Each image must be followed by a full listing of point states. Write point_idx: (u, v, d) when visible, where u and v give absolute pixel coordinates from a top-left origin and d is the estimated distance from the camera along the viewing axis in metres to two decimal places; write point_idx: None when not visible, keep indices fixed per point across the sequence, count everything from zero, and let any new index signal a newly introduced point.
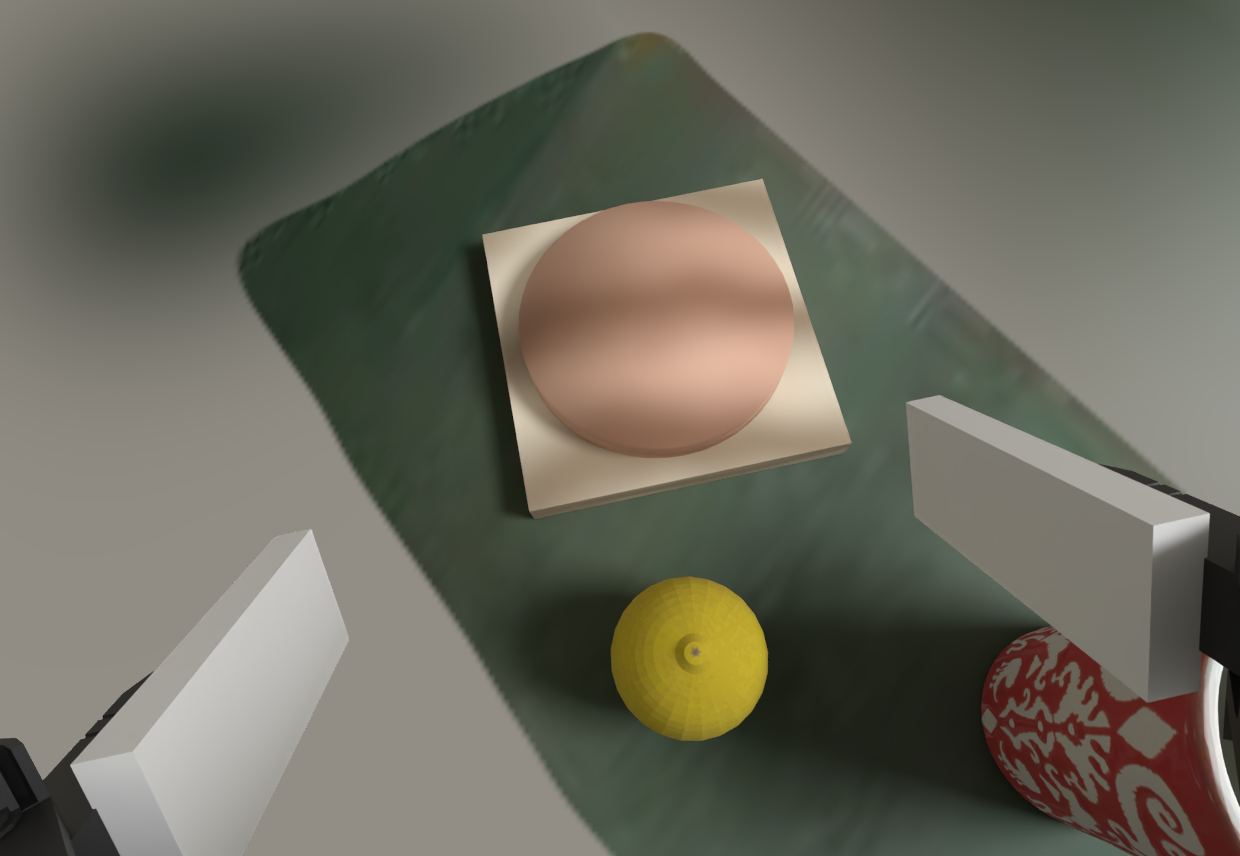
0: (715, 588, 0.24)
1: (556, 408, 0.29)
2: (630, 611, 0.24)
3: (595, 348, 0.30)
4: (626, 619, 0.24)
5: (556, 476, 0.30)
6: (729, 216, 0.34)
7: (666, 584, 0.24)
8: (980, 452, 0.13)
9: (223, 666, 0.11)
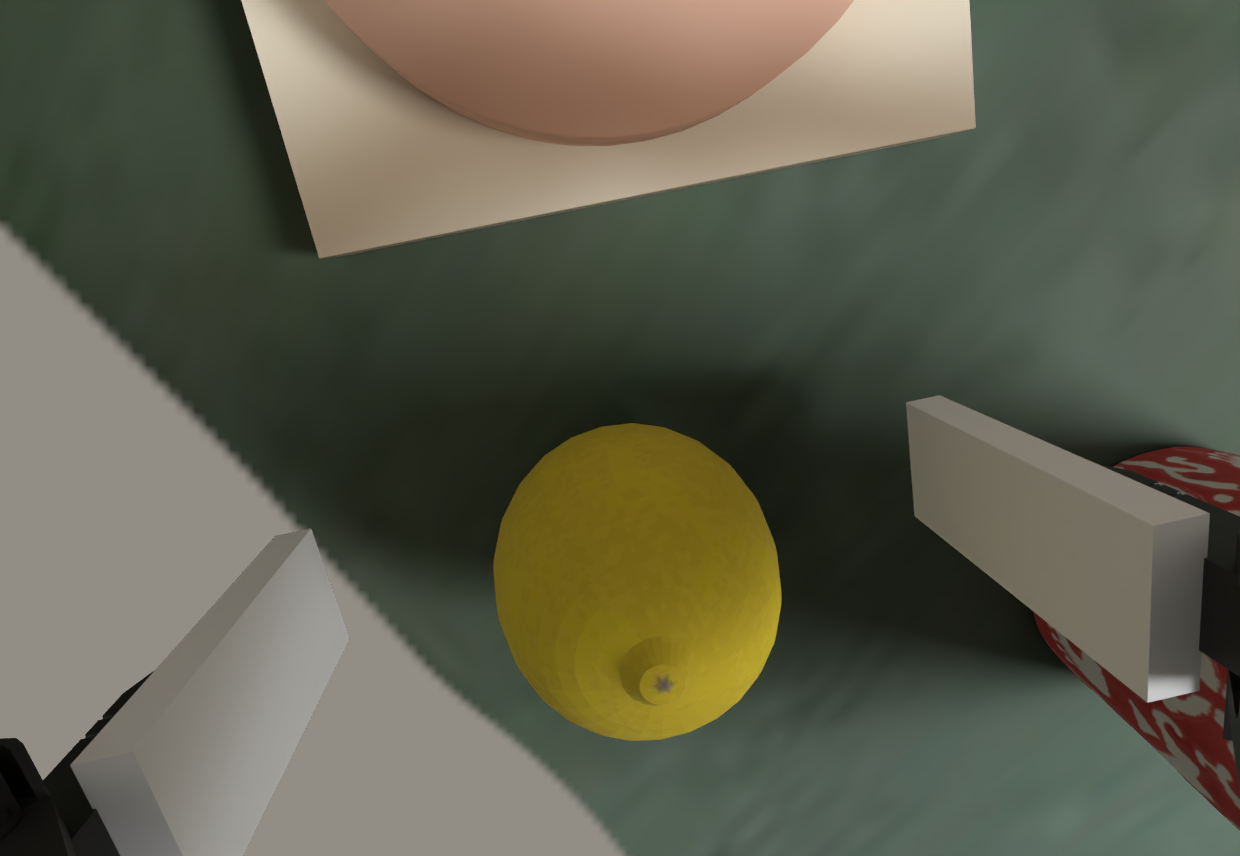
0: (703, 504, 0.12)
1: (342, 17, 0.12)
2: (528, 539, 0.12)
3: None
4: (520, 554, 0.12)
5: (369, 181, 0.14)
6: None
7: (602, 488, 0.12)
8: (980, 452, 0.13)
9: (223, 666, 0.11)
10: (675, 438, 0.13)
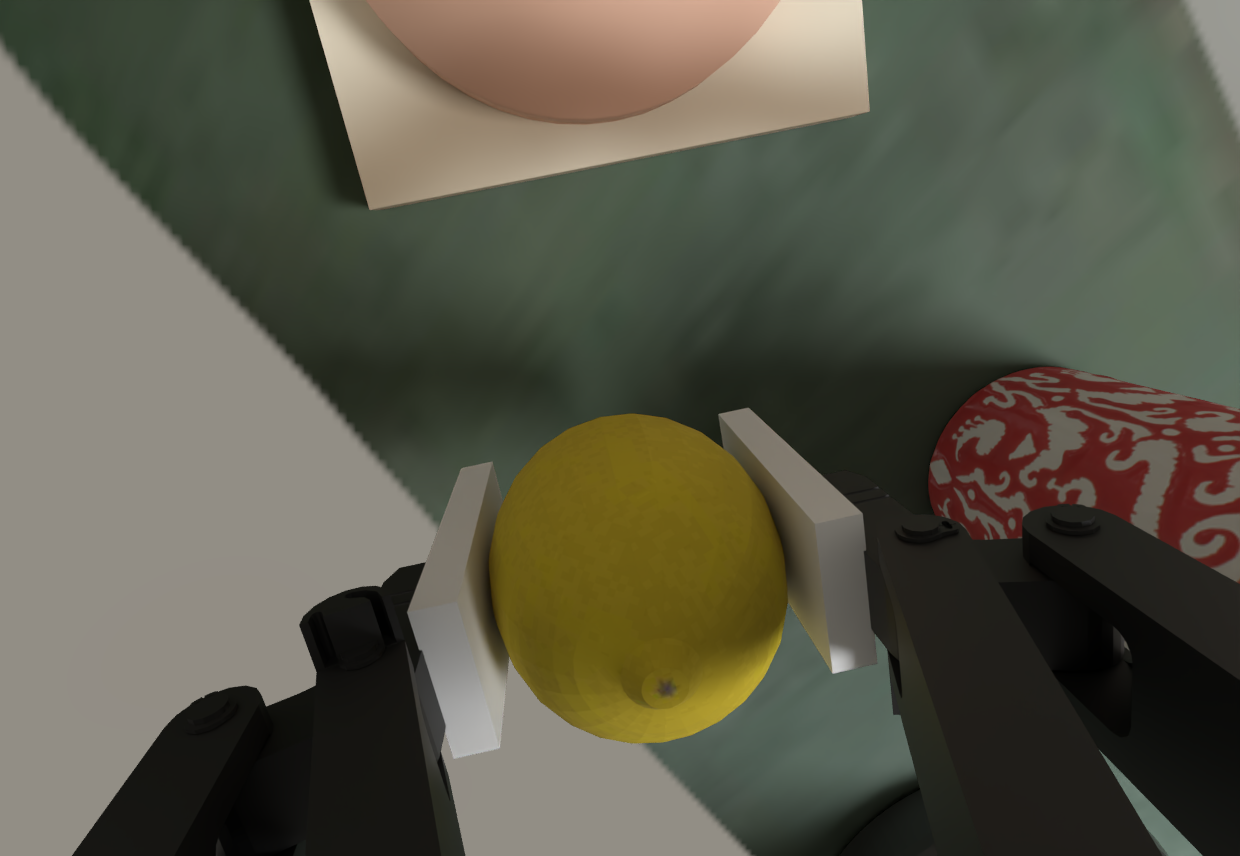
0: (707, 499, 0.11)
1: (392, 30, 0.17)
2: (524, 535, 0.11)
3: None
4: (516, 550, 0.11)
5: (407, 150, 0.19)
6: None
7: (602, 482, 0.11)
8: (750, 460, 0.14)
9: (477, 556, 0.13)
10: (677, 429, 0.13)
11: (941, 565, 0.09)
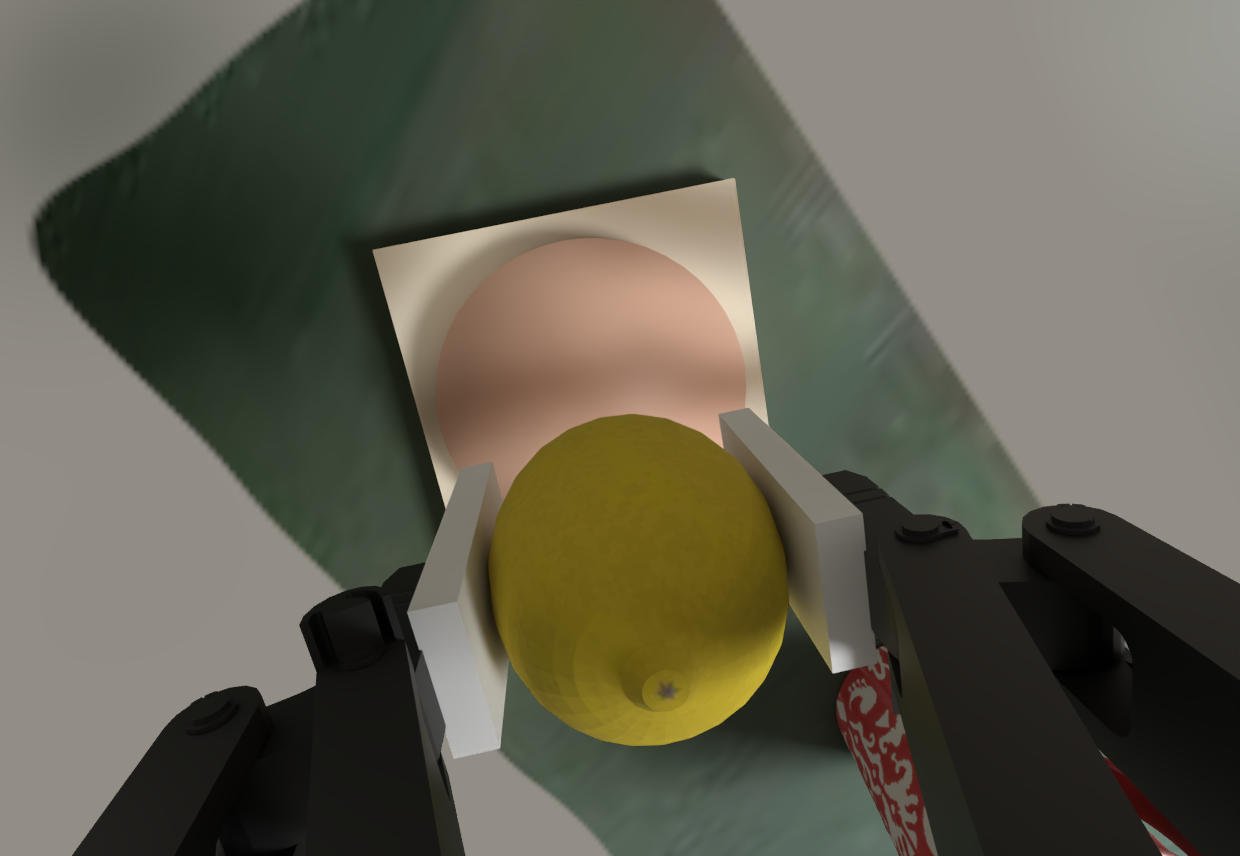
0: (708, 500, 0.11)
1: None
2: (524, 536, 0.11)
3: (526, 436, 0.27)
4: (516, 552, 0.11)
5: None
6: (687, 234, 0.27)
7: (602, 483, 0.11)
8: (750, 460, 0.14)
9: (477, 556, 0.13)
10: (678, 430, 0.13)
11: (941, 565, 0.09)
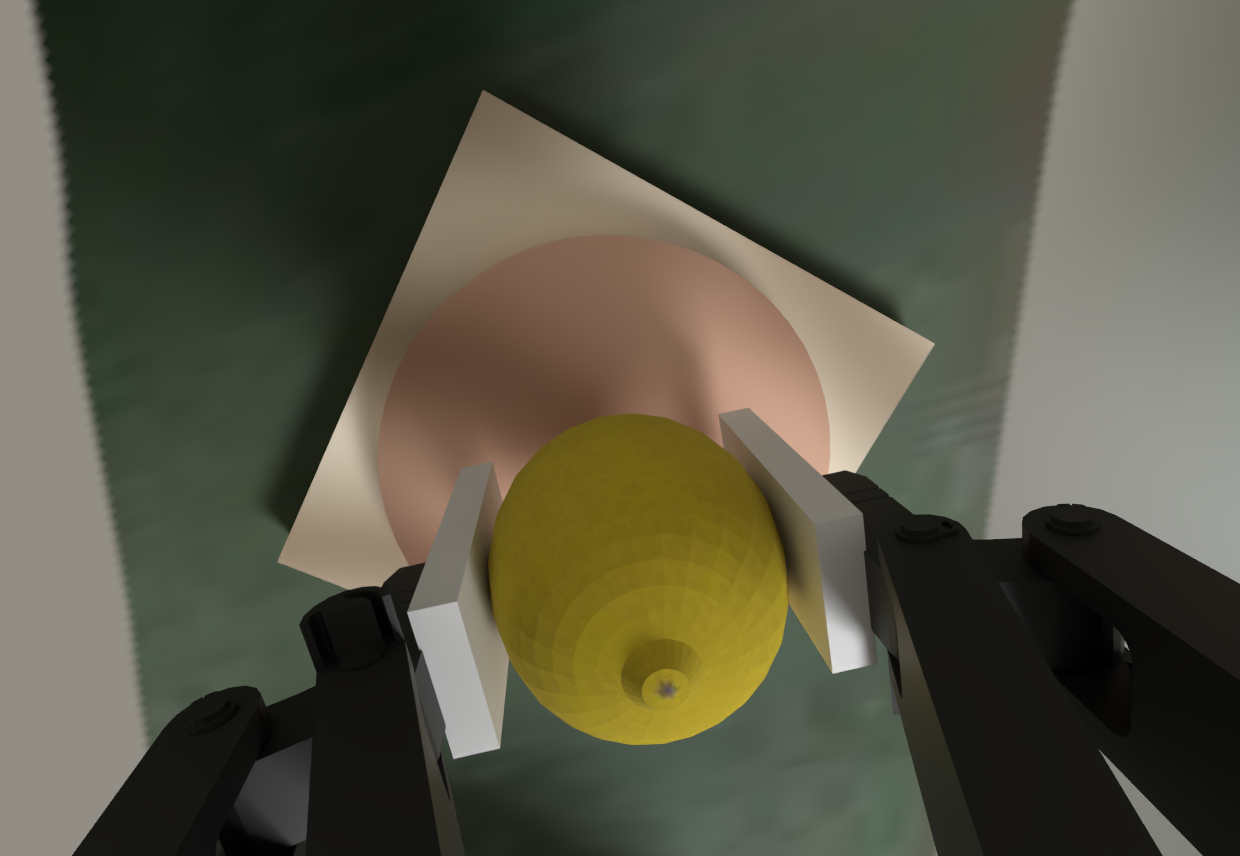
0: (708, 499, 0.11)
1: (384, 498, 0.18)
2: (524, 535, 0.11)
3: (497, 455, 0.18)
4: (516, 550, 0.11)
5: (341, 543, 0.20)
6: (842, 364, 0.20)
7: (602, 482, 0.11)
8: (750, 460, 0.14)
9: (477, 555, 0.13)
10: (678, 429, 0.13)
11: (941, 565, 0.09)
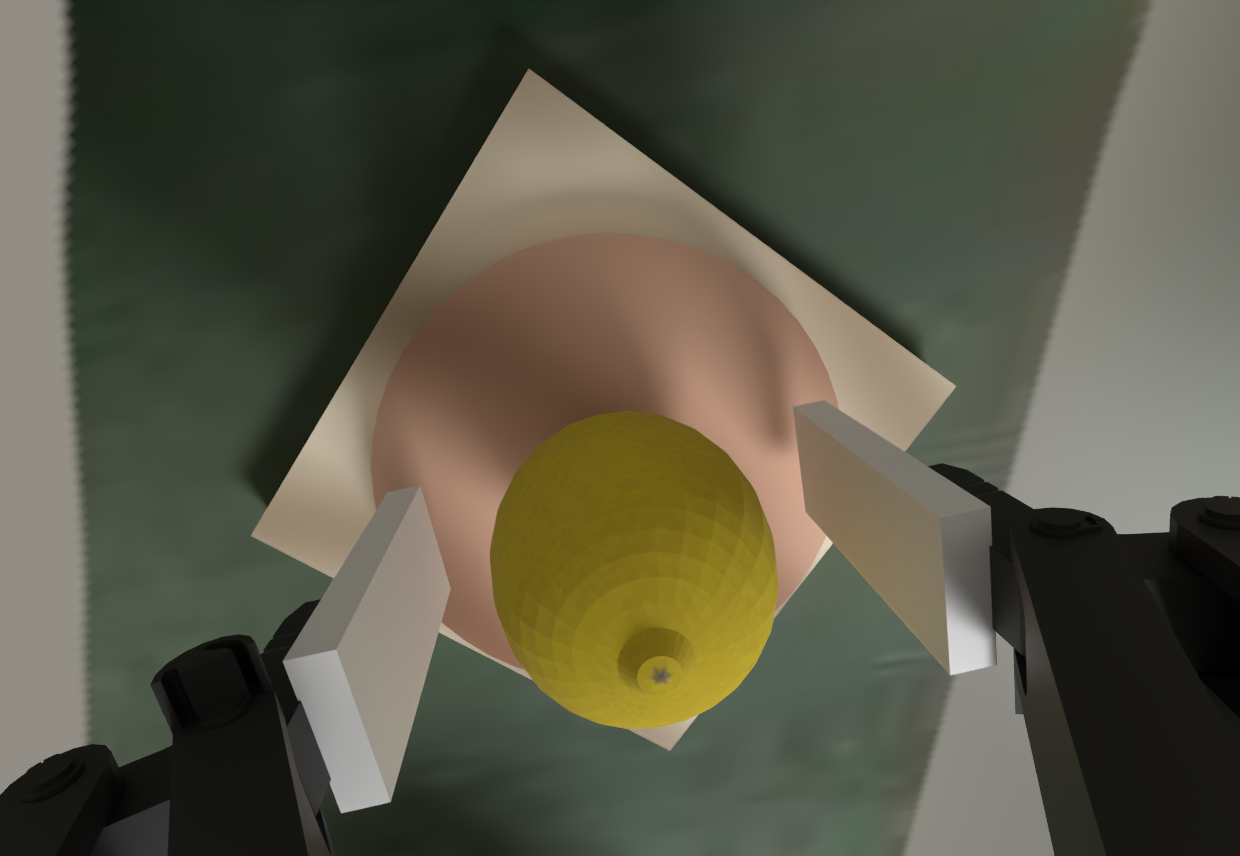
0: (700, 494, 0.12)
1: (373, 481, 0.17)
2: (524, 529, 0.12)
3: (498, 450, 0.17)
4: (516, 544, 0.12)
5: (320, 524, 0.19)
6: (861, 396, 0.20)
7: (599, 479, 0.12)
8: (839, 453, 0.14)
9: (379, 592, 0.12)
10: (672, 427, 0.13)
11: (1081, 561, 0.09)
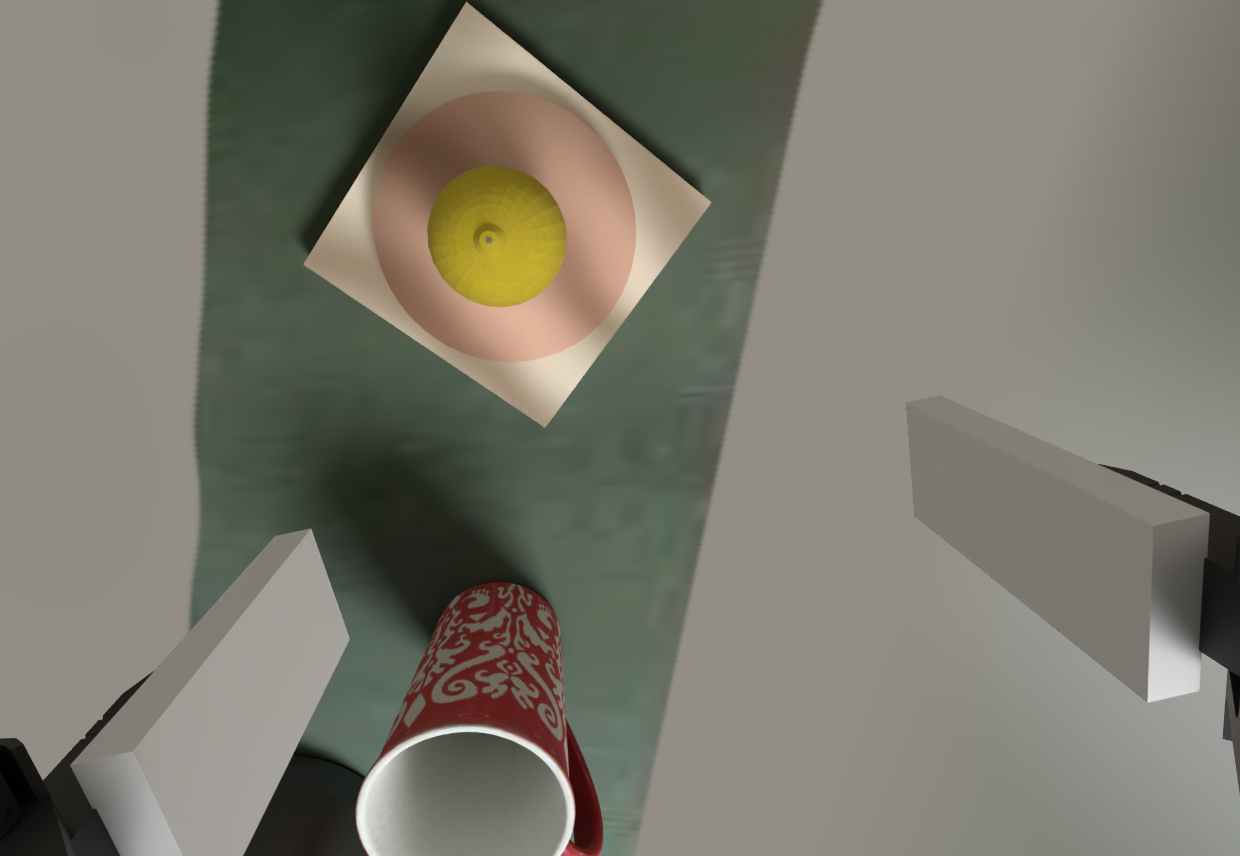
0: (518, 181, 0.26)
1: (373, 225, 0.32)
2: (440, 196, 0.26)
3: None
4: (436, 203, 0.26)
5: (343, 260, 0.34)
6: (655, 204, 0.34)
7: (474, 173, 0.26)
8: (980, 452, 0.13)
9: (223, 666, 0.11)
10: None
11: None
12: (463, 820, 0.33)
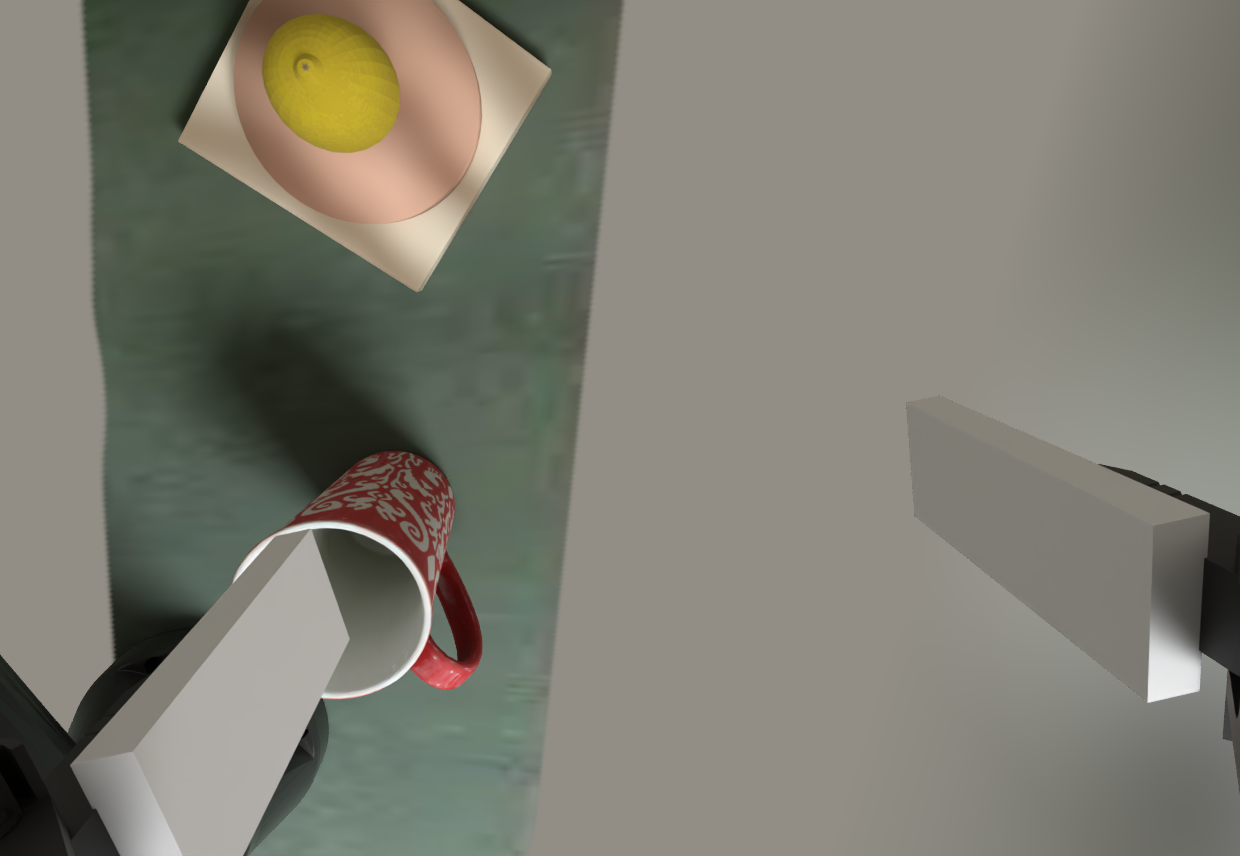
0: (336, 21, 0.29)
1: (235, 96, 0.35)
2: None
3: None
4: None
5: (214, 136, 0.37)
6: (499, 73, 0.37)
7: (298, 17, 0.29)
8: (980, 452, 0.13)
9: (223, 666, 0.11)
10: None
11: None
12: None
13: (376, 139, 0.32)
